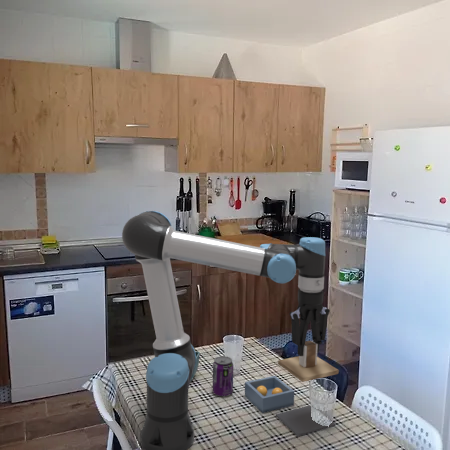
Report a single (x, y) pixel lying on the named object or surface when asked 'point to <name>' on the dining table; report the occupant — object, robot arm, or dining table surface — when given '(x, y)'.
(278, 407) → the dish
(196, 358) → the flower pot
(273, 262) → the robot arm
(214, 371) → the beverage can
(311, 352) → the lid
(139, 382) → the dining table surface
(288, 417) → the mat
